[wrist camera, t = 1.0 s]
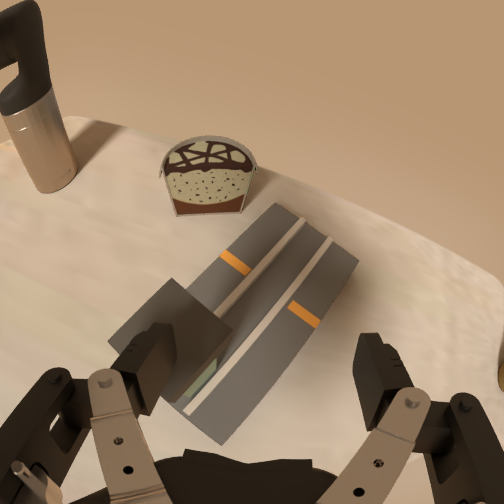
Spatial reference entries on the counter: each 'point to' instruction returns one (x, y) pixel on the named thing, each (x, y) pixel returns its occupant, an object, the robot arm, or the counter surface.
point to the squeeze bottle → (501, 377)
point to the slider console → (263, 313)
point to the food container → (208, 175)
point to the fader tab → (180, 337)
